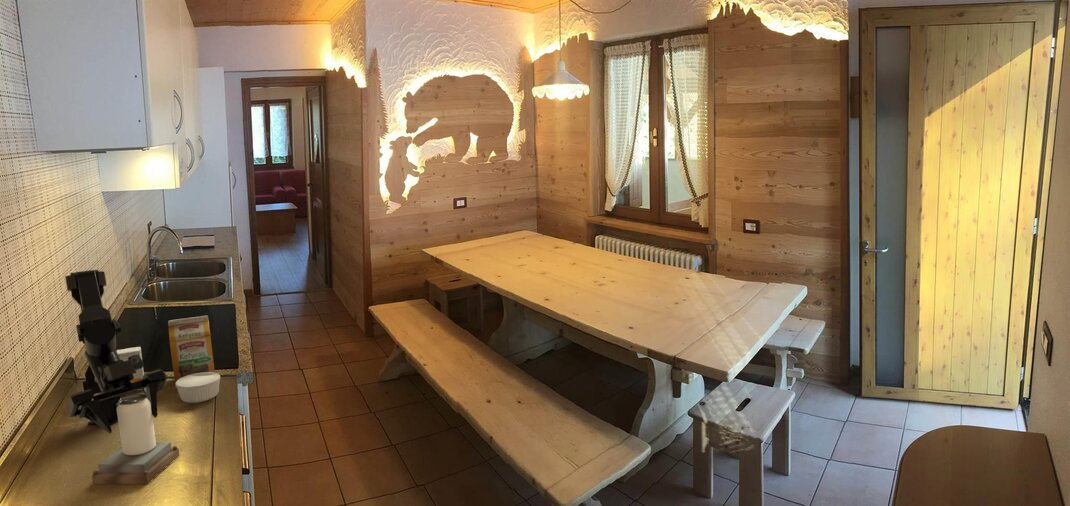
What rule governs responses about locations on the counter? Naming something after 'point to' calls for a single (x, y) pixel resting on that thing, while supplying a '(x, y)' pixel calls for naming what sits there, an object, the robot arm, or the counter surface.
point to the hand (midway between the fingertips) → (134, 424)
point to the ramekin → (198, 387)
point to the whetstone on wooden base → (135, 465)
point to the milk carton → (190, 346)
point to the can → (136, 425)
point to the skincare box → (124, 356)
